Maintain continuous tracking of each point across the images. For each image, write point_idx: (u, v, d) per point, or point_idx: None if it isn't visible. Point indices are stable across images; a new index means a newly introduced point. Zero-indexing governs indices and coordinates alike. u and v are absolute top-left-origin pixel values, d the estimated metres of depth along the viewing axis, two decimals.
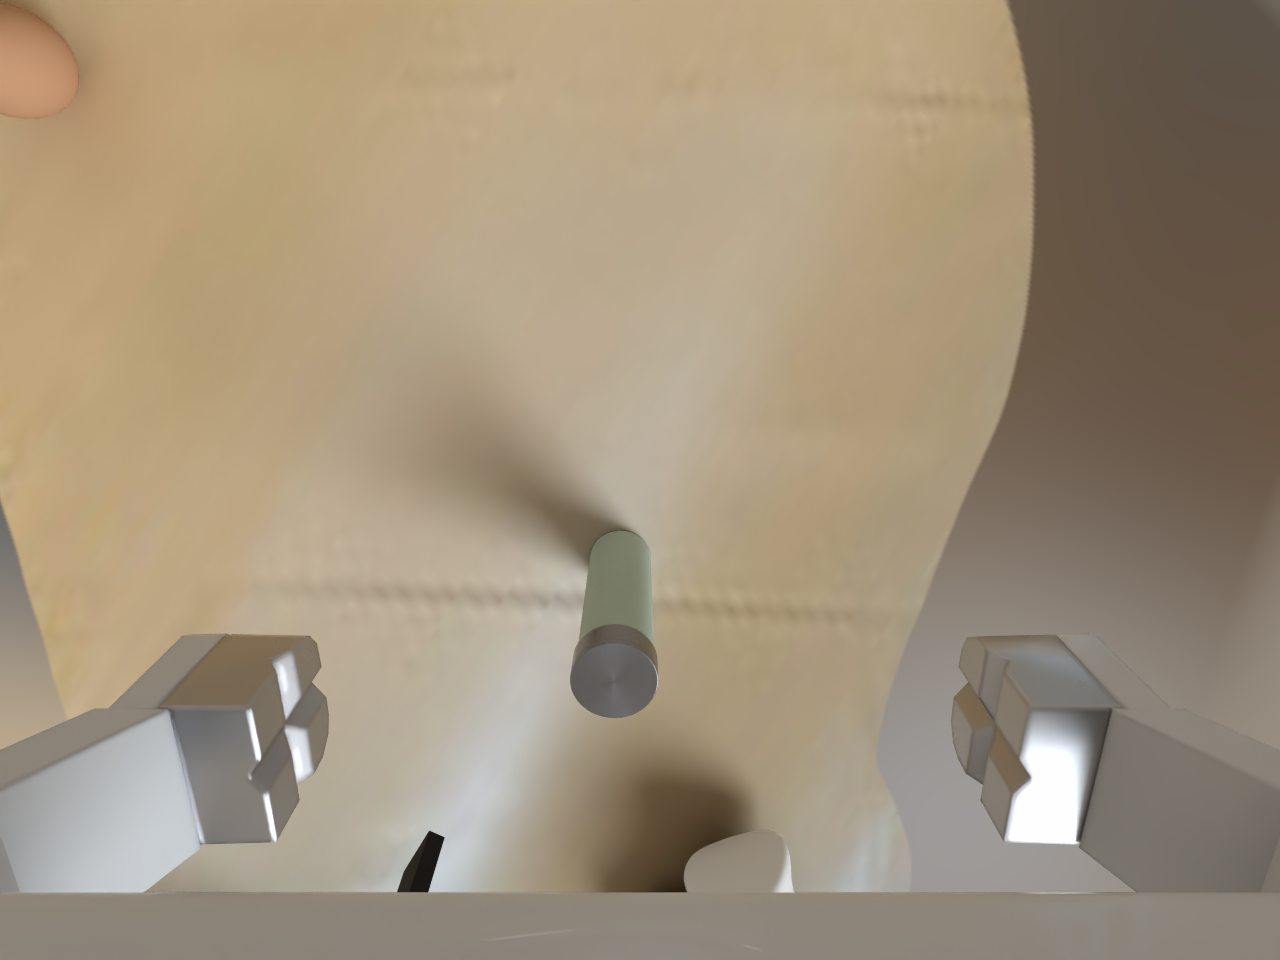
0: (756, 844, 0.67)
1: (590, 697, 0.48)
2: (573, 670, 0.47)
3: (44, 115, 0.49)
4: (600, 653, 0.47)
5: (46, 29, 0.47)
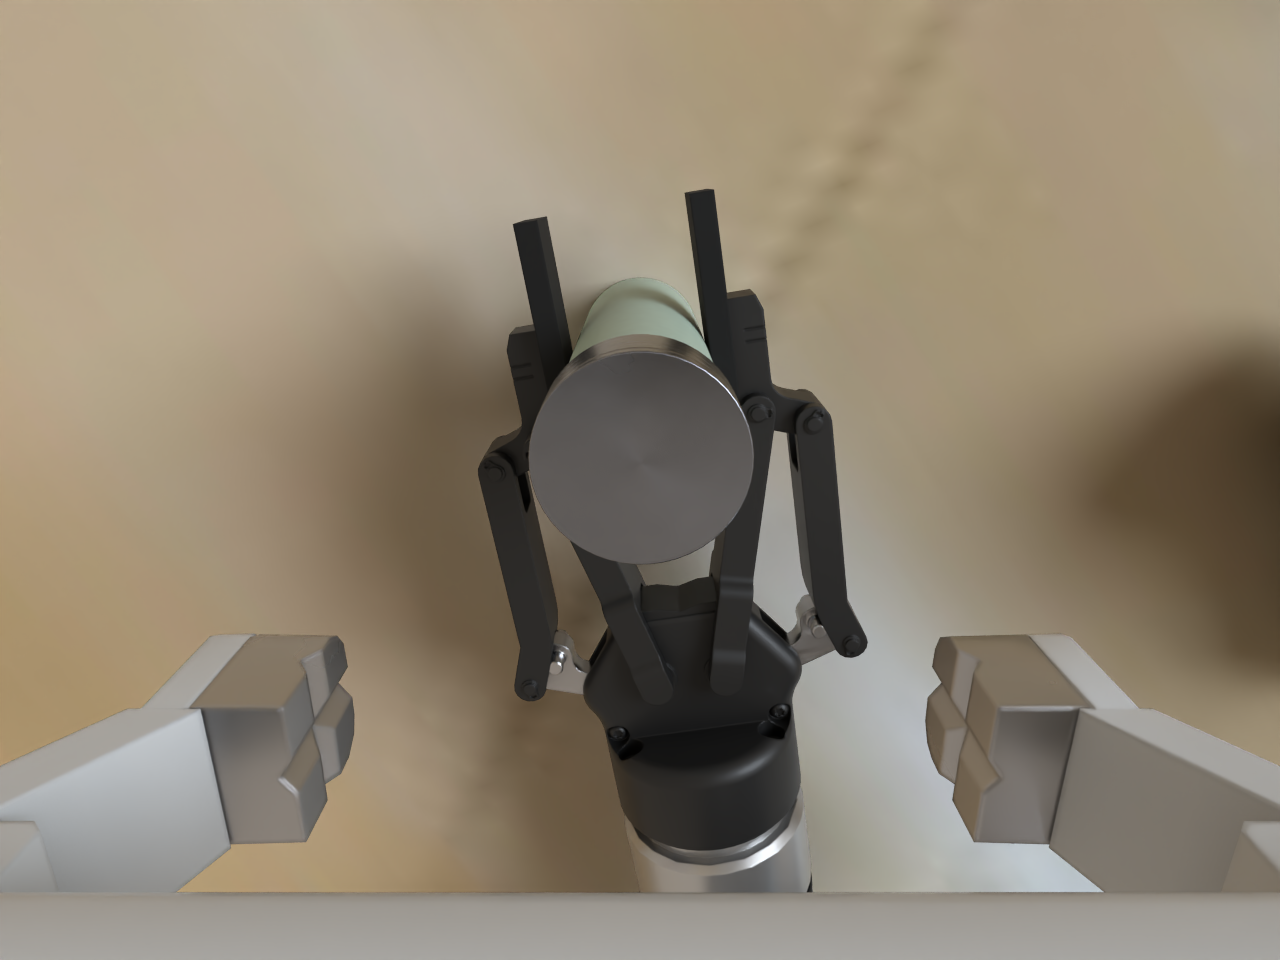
0: None
1: (658, 533, 0.19)
2: (570, 535, 0.19)
3: None
4: (551, 458, 0.18)
5: None
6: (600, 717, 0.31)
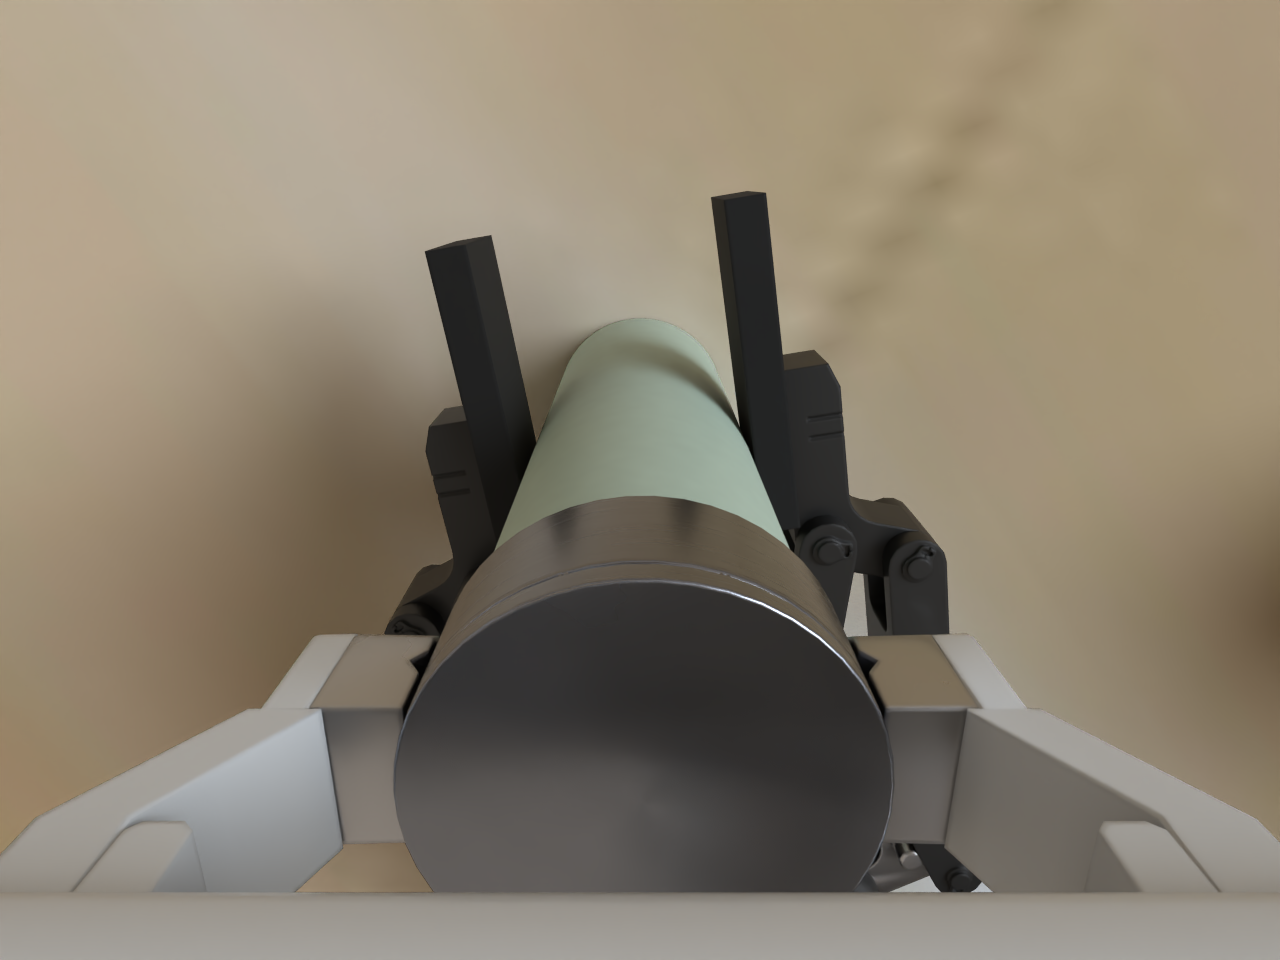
0: None
1: None
2: None
3: None
4: (444, 794, 0.08)
5: None
6: None
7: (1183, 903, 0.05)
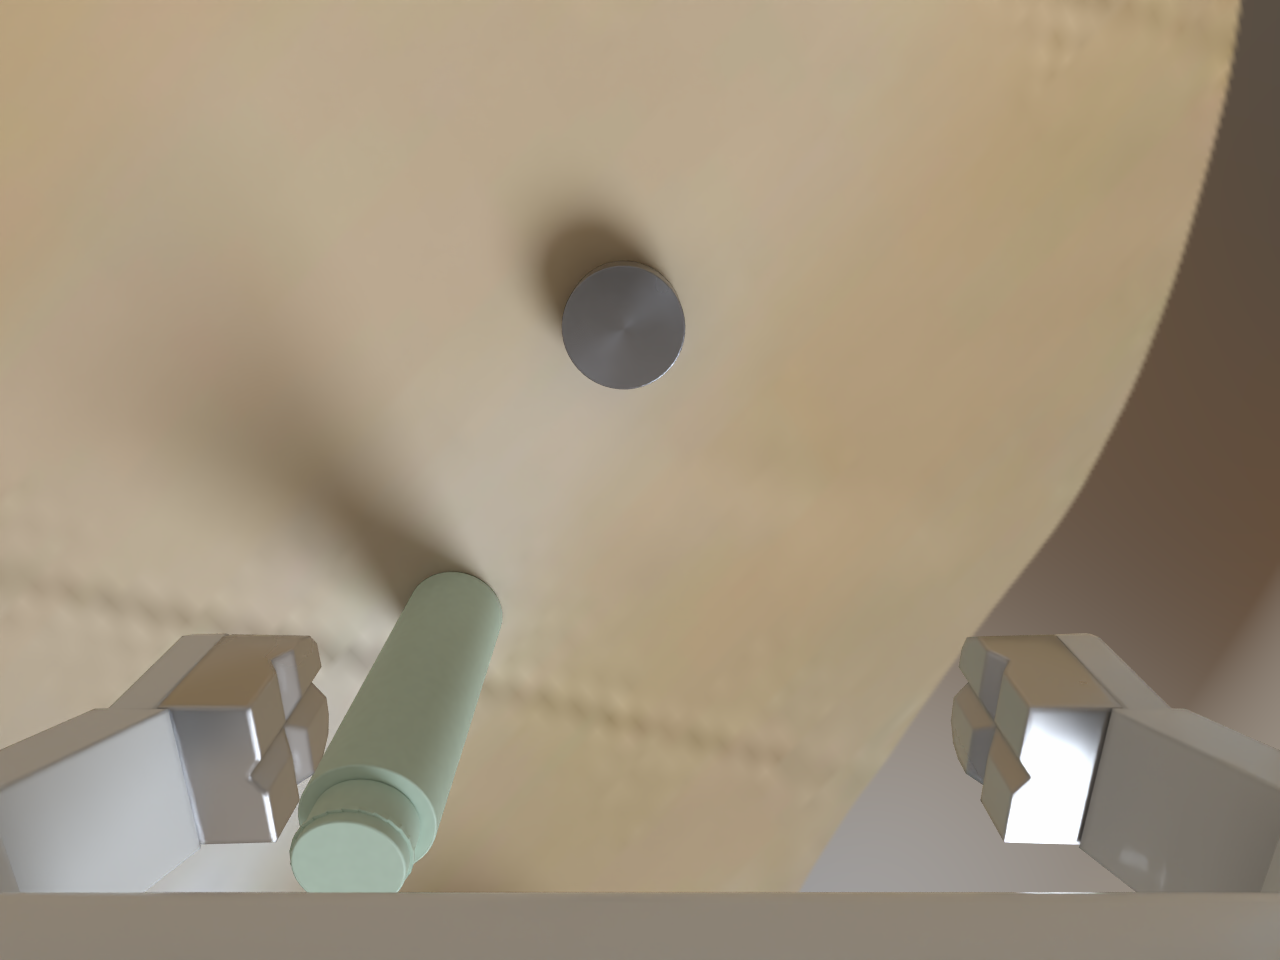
0: None
1: (595, 361, 0.34)
2: (564, 322, 0.34)
3: None
4: (596, 287, 0.33)
5: None
6: None
7: (1183, 903, 0.05)
